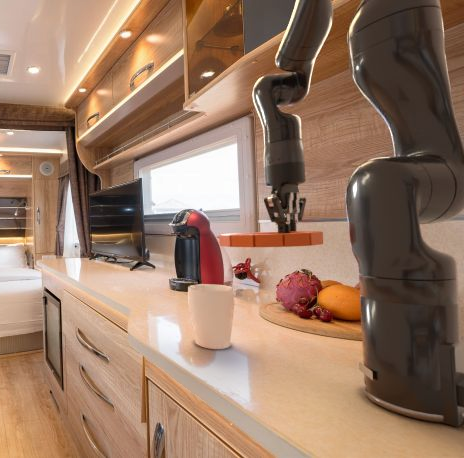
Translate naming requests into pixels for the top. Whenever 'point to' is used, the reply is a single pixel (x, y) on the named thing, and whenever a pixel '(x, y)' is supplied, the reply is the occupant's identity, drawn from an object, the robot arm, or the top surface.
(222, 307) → the cup
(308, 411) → the top surface
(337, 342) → the top surface
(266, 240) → the ring
